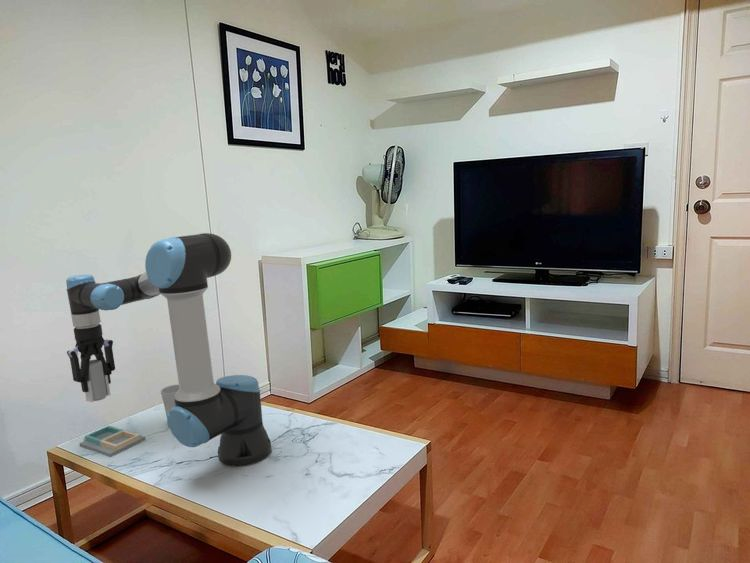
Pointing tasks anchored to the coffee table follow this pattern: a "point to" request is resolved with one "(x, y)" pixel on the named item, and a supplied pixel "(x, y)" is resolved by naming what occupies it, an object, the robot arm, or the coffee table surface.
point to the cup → (169, 397)
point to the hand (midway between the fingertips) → (98, 397)
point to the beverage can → (97, 379)
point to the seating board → (111, 440)
